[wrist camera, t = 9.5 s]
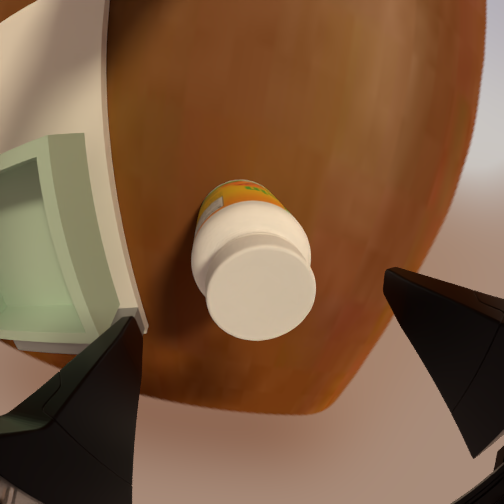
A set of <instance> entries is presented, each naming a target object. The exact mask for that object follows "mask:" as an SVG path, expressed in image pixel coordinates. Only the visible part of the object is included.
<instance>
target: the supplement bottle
mask: <svg viewBox="0 0 504 504" xmlns="http://www.w3.org/2000/svg"><path fill="white" fill-rule="evenodd" d="M310 263H311V252H310V245H309V242H308V238H307V236H306V234H305V232H304V230H303V228H302V227H301V225H300V224H299V223H298V221H297V220H296V219H295V218H294V217H293V216H292V215H291V214H290V213H289V211H288V210H287V209H286V208H285V207H284V206H283V205H282V204H281V203H280V202H279V201H278V200H277V199H276V198H275V197H274V196H273V195H272V193H271V192H269V191H268V190H267V189H266V188H265V187H263V186H262V185H260V184H258V183H255V182H252V181H248V180H233V181H229V182H226V183H223V184H221V185H219V186H218V187H216V188H215V189H214V190H212V191H211V192H210V193H209V194H208V196H207V197H206V198H205V200H204V201H203V203H202V206H201V208H200V211H199V215H198V220H197V225H196V231H195V237H194V242H193V248H192V255H191V266H192V272H193V276H194V279H195V282H196V284H197V286H198V288H199V289H200V291H201V292H202V294H203V295H204V296H205V297H206V304H207V308H208V311H209V313H210V315H211V317H212V319H213V320H214V322H215V323H216V324H217V325H218V326H219V327H220V328H221V329H222V330H224V331H225V332H227V333H228V334H230V335H232V336H234V337H237V338H241V339H244V340H253V341H257V340H267V339H272V338H276V337H279V336H281V335H283V334H285V333H287V332H289V331H291V330H292V329H293V328H295V327H296V326H297V325H298V324H300V323H301V322H302V321H303V320H304V318H305V317H306V316H307V314H308V313H309V311H310V310H311V307H312V305H313V303H314V299H315V294H316V282H315V277H314V274H313V272H312V269H311V268H310Z"/></svg>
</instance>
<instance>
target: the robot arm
mask: <svg viewBox="0 0 504 504" xmlns="http://www.w3.org/2000/svg"><path fill="white" fill-rule="evenodd" d="M383 293H384V295H385V297H386V299H387V301H388V303H389V305H390V307H391V309H392V311H393V313H394V315H395V317H396V319H397V321H398V322H399V324H400V326H401V328H402V329H403V331H404V332H405V334H406V336H407V337H408V339H409V340H410V342H411V344H412V345H413V347H414V348H415V350H416V352H417V353H418V355H419V357H420V358H421V360H422V362H423V363H424V365H425V367H426V368H427V370H428V372H429V374H430V375H431V377H432V378H433V381H434V382H435V384H436V386H437V387H438V390H439V391H440V393H441V395H442V397H443V399H444V401H445V402H446V404H447V406H448V408H449V410H450V412H451V413H452V416H453V418H454V420H455V422H456V424H457V426H458V428H459V430H460V432H461V434H462V436H463V438H464V441H465V443H466V445H467V447H468V449H469V451H470V453H471V456H472V457H473V459H474V458H476V457H477V456H478V455H480V454H481V453H482V452H483V451H485V450H486V449H487V448H488V447H490V446H491V445H492V444H493V443H494V442H496V441H497V440H498V439H499V438H500V437H501V436H502V435H504V299H502V298H498V297H494V296H491V295H487V294H484V293H481V292H478V291H473V290H471V289H468V288H465V287H461V286H458V285H455V284H452V283H448V282H445V281H441V280H438V279H435V278H432V277H428V276H425V275H421V274H418V273H415V272H411V271H408V270H405V269H401V268H398V267H393V268H389V269H387V270H386V271H385V276H384V285H383ZM142 350H143V336H142V333H141V331H140V329H139V326H138V324H137V322H136V319H135V318H134V317H133V316H124V317H121V318H120V319H119V320H118V321H117V322H115V323H114V324H113V325H112V326H111V327H110V328H108V329H107V330H106V331H105V332H104V333H102V334H101V335H100V336H99V337H98V338H97V339H95V340H94V341H93V342H92V343H91V344H90V345H89V346H87V347H86V348H85V349H84V350H83V351H82V352H80V353H79V354H78V355H77V356H76V357H75V358H74V359H72V360H71V361H70V362H69V363H68V364H67V365H66V366H65V367H63V368H62V369H61V370H60V372H58V373H57V374H56V375H54V376H53V377H52V378H51V379H50V380H49V381H48V382H46V383H45V384H44V385H43V386H42V387H41V388H39V389H38V390H37V391H36V392H35V393H33V394H32V395H31V396H29V397H28V398H27V399H26V400H24V401H23V402H22V403H20V404H19V405H18V406H17V407H15V408H14V409H13V410H11V411H10V412H9V413H7V414H5V415H2V416H0V504H132V486H131V485H132V473H133V455H134V440H135V428H136V419H137V409H138V400H139V393H140V385H141V377H142ZM451 504H504V446H503V447H502V448H501V449H500V450H499V451H498V452H497V457H496V462H495V467H494V471H493V472H492V473H491V474H490V475H489V476H488V477H486V478H485V479H484V480H483V481H481V482H480V483H479V484H478V485H476V486H475V487H474V488H472V489H471V490H470V491H468V492H467V493H466V494H464V495H463V496H461V497H460V498H458V499H457V500H456V501H454V502H453V503H451Z"/></svg>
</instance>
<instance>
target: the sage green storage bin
mask: <svg viewBox="0 0 504 504" xmlns="http://www.w3.org/2000/svg"><path fill="white" fill-rule="evenodd" d="M119 306H120V303H119V300H118V297H117V293H116V290H115V287H114V284H113V280H112V277H111V273H110V270H109V266H108V263H107V259H106V255H105V251H104V247H103V243H102V239H101V235H100V230H99V226H98V221H97V216H96V211H95V206H94V201H93V195H92V189H91V183H90V177H89V170H88V163H87V154H86V145H85V135H84V133H69V134H54V135H46V136H44V137H41V138H38V139H36V140H33V141H30V142H28V143H25V144H23V145H20V146H18V147H16V148H13V149H11V150H9V151H7V152H4V153H2V154H0V339H9V340H20V341H33V342H49V343H76V344H91V343H92V342H93V341H94V340H95V339H97V338H98V337H99V336H100V335H101V334H102V333H104V332H105V331H106V330H107V329H108V328H110V326H111V323H112V321H113V319H114V317H115V314H116V312H117V310H118V308H119Z"/></svg>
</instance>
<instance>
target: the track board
mask: <svg viewBox="0 0 504 504" xmlns="http://www.w3.org/2000/svg"><path fill="white" fill-rule="evenodd" d="M109 6H110V0H38V1H36V2H34V3H32V4H30V5H29V6H27V7H25V8H23V9H22V10H20V11H18V12H17V13H15V14H14V15H12V16H10V17H9V18H7V19H6V20H4V21H3V22H1V23H0V154H2V153H4V152H7V151H9V150H11V149H13V148H16V147H18V146H20V145H23V144H25V143H28V142H30V141H33V140H36V139H38V138H41V137H44V136H46V135H54V134H69V133H84V135H85V145H86V154H87V163H88V170H89V177H90V183H91V189H92V195H93V201H94V206H95V211H96V216H97V221H98V226H99V230H100V235H101V239H102V243H103V247H104V251H105V255H106V259H107V263H108V266H109V270H110V273H111V277H112V280H113V284H114V287H115V290H116V293H117V297H118V300H119V303H120V306H119V308H118V310H117V312H116V314H115V317H114V319H113V321H112V323H111V326H112V325H113V324H114V323H115V322H117V321H118V320H119V319H120V318H121V317H124V316H133V317H134V318H135V319H136V322H137V324H138V326H139V329H140V331H141V333H142V336H143V334H145V333H147V330H148V326H149V325H148V322H147V319H146V316H145V313H144V309H143V306H142V303H141V299H140V296H139V292H138V289H137V285H136V281H135V277H134V273H133V270H132V266H131V261H130V257H129V253H128V249H127V244H126V240H125V235H124V230H123V225H122V220H121V215H120V209H119V204H118V198H117V192H116V185H115V179H114V172H113V164H112V156H111V147H110V136H109V125H108V110H107V85H106V54H107V30H108V16H109ZM111 326H110V327H111ZM13 341H14V343H15V345H16V346H17V348H18V350H25V351H35V352H47V353H61V354H79V353H80V352H82V351H83V350H84V349H85V348H86V347H87V346H89V345H90V344H76V343H49V342H33V341H20V340H13Z"/></svg>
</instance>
